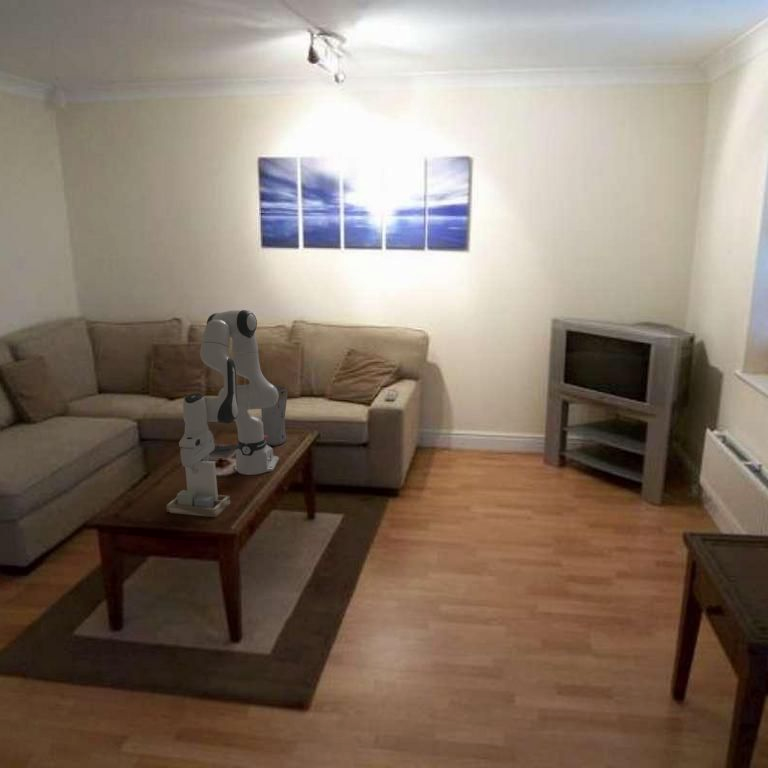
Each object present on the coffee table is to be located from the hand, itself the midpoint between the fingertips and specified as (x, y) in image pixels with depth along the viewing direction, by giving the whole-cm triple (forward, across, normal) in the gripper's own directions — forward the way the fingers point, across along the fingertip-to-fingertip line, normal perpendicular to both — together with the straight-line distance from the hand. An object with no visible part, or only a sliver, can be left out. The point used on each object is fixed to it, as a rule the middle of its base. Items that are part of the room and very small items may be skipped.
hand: (200, 469), depth 259 cm
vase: (+15, -72, +2) cm, 74 cm away
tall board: (+15, 0, 0) cm, 15 cm away
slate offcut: (+15, +6, +4) cm, 16 cm away
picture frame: (+16, -52, -22) cm, 58 cm away
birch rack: (+15, +4, 0) cm, 15 cm away
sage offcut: (+15, +6, -4) cm, 16 cm away
